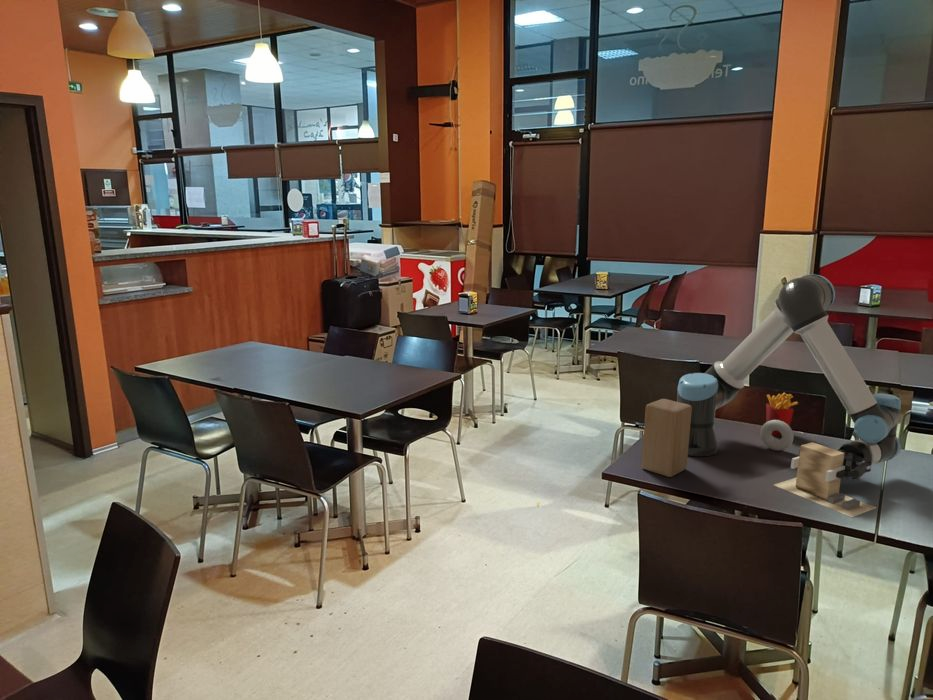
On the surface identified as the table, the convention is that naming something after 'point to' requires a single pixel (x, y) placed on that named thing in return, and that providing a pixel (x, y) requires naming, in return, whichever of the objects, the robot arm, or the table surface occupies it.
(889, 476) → the table surface
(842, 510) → the board
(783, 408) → the french fries
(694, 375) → the robot arm
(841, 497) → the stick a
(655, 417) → the block
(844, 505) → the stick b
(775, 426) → the donut
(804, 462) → the block
